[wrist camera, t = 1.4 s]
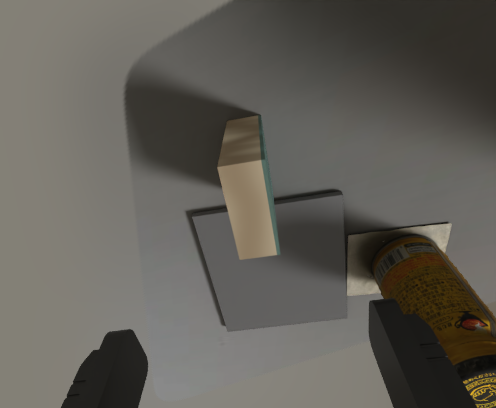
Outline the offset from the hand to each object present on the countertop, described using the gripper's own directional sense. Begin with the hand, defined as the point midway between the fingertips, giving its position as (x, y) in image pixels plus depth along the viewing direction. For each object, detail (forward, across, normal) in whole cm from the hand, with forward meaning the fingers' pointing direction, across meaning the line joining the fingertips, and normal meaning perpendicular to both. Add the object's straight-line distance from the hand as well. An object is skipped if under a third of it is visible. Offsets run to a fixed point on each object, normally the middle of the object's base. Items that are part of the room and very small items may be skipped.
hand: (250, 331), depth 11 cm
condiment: (+16, -11, +12) cm, 23 cm away
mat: (+15, -1, +11) cm, 19 cm away
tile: (+16, 0, 0) cm, 16 cm away
